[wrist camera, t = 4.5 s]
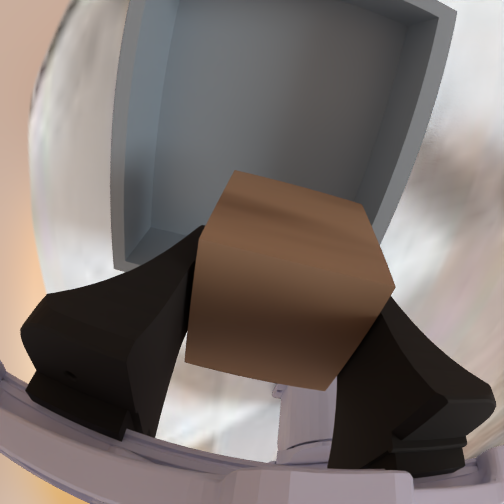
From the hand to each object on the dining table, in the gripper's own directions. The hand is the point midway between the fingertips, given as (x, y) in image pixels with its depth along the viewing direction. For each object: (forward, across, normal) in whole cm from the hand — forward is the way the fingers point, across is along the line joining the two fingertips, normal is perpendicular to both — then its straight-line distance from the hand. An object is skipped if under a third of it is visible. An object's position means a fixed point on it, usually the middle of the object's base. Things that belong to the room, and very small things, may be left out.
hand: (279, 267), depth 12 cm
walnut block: (+2, 0, 0) cm, 2 cm away
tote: (+8, +2, -3) cm, 9 cm away
